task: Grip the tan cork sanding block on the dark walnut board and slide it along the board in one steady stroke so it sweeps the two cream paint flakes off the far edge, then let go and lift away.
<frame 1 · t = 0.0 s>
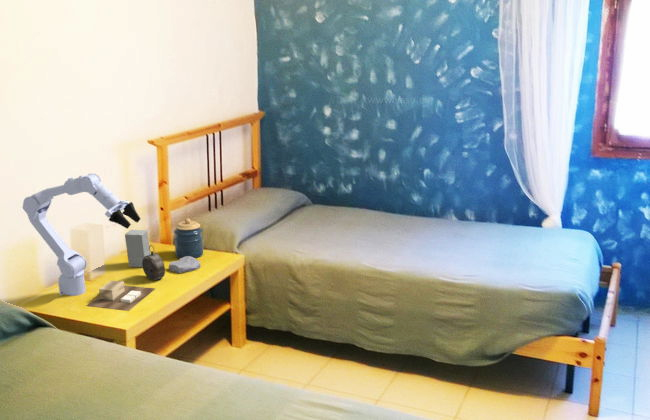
hand: (134, 223, 261), 32 cm above the table, tool tilted 50°, fingers open, 7 cm apart
sanding block: (112, 296, 272), point 1 cm above the table, touching walnut board
alarm clock: (153, 282, 291), on the table
walnut board: (122, 300, 272), on the table
stone block: (186, 269, 305), on the table
paint flake 1: (128, 300, 268), point 1 cm above the table, touching walnut board
skincare box: (139, 265, 309), on the table
canister: (189, 255, 322), on the table
paint flake 2: (133, 295, 273), point 1 cm above the table, touching walnut board
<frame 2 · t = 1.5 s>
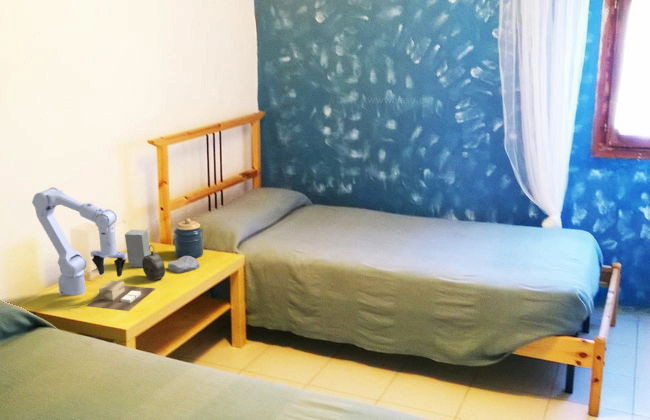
hand: (110, 274, 270), 10 cm above the table, tool pointing down, fingers open, 7 cm apart
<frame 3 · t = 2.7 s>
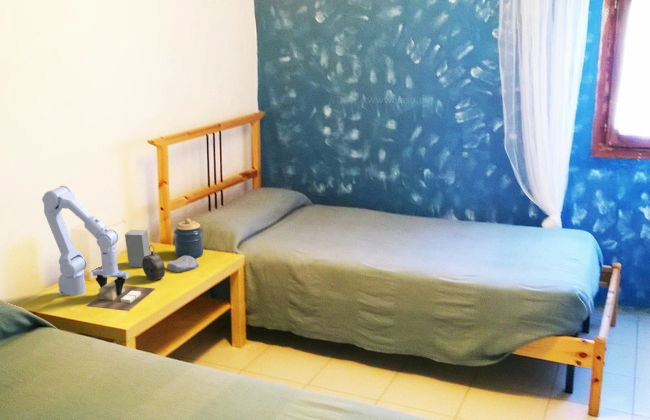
hand: (112, 293, 272), 2 cm above the table, tool pointing down, fingers closed on sanding block, 6 cm apart
sanding block: (112, 296, 272), point 1 cm above the table, touching gripper, walnut board
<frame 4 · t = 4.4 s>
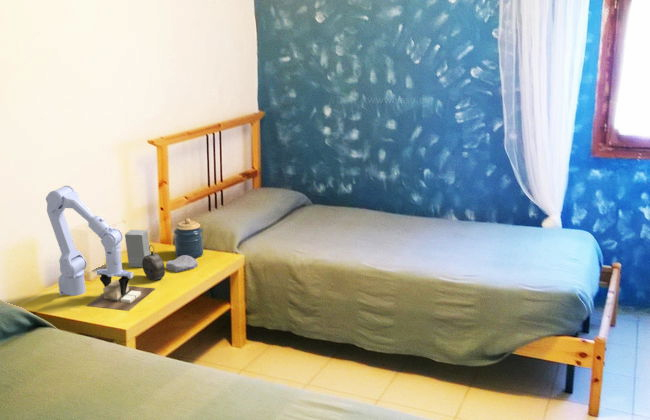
hand: (116, 293, 271), 3 cm above the table, tool pointing down, fingers closed on sanding block, 6 cm apart
sanding block: (116, 295, 272), point 2 cm above the table, touching gripper
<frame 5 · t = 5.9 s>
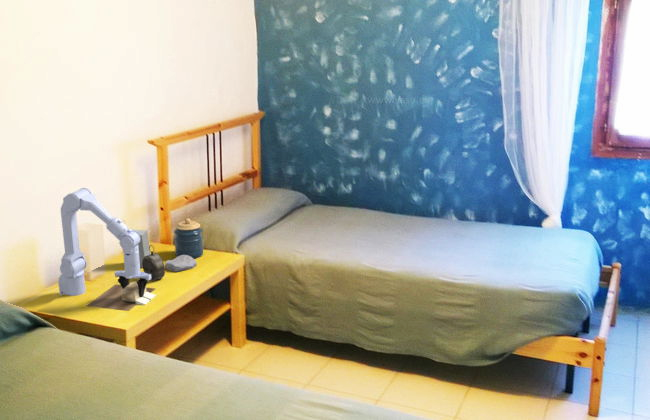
hand: (134, 295, 270), 3 cm above the table, tool pointing down, fingers closed on sanding block, 6 cm apart
sanding block: (134, 297, 270), point 2 cm above the table, touching gripper, paint flake 1
paint flake 1: (142, 303, 267), point 1 cm above the table, tilted 18°, touching gripper, sanding block, walnut board
paint flake 2: (148, 297, 272), point 1 cm above the table, tilted 16°, touching gripper, walnut board
when the fingers open (3 cm above the table, at t = 7.6 s): sanding block stays where it is, resting on walnut board.
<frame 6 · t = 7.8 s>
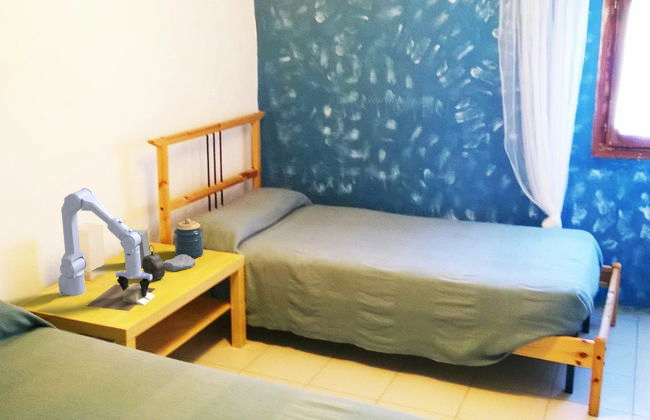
hand: (135, 295, 270), 3 cm above the table, tool pointing down, fingers open, 7 cm apart
sanding block: (135, 298, 270), point 1 cm above the table, touching walnut board
paint flake 1: (143, 304, 267), point 1 cm above the table, tilted 24°, touching walnut board
paint flake 2: (149, 299, 271), point 1 cm above the table, tilted 24°
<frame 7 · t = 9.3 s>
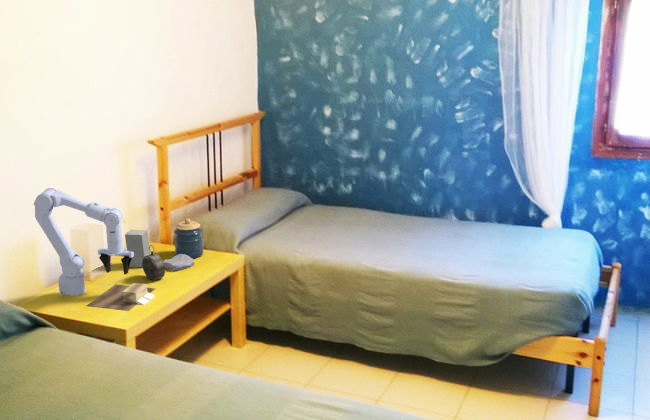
hand: (117, 272, 275), 9 cm above the table, tool pointing down, fingers open, 7 cm apart
sanding block: (135, 298, 270), point 1 cm above the table, touching paint flake 1, paint flake 2, walnut board
paint flake 1: (143, 303, 267), point 1 cm above the table, tilted 24°, touching sanding block, walnut board
paint flake 2: (149, 299, 271), point 1 cm above the table, tilted 24°, touching sanding block, walnut board
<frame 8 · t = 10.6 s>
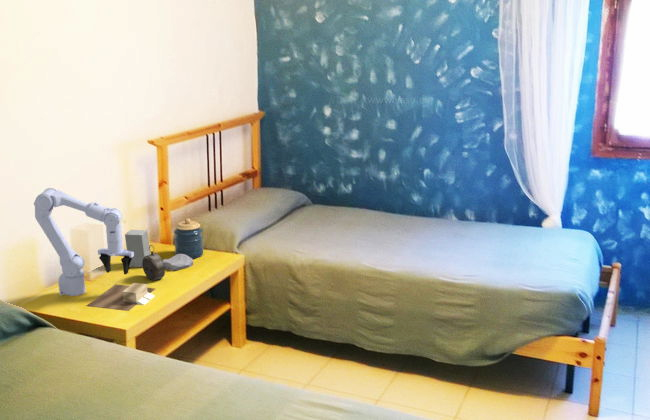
hand: (117, 272, 275), 9 cm above the table, tool pointing down, fingers open, 7 cm apart
at the end: paint flake 1 inside the target area (3.7 cm from its centre), point 0.8 cm above the table; paint flake 2 inside the target area (3.7 cm from its centre), point 0.8 cm above the table; sanding block tilted 0° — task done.
